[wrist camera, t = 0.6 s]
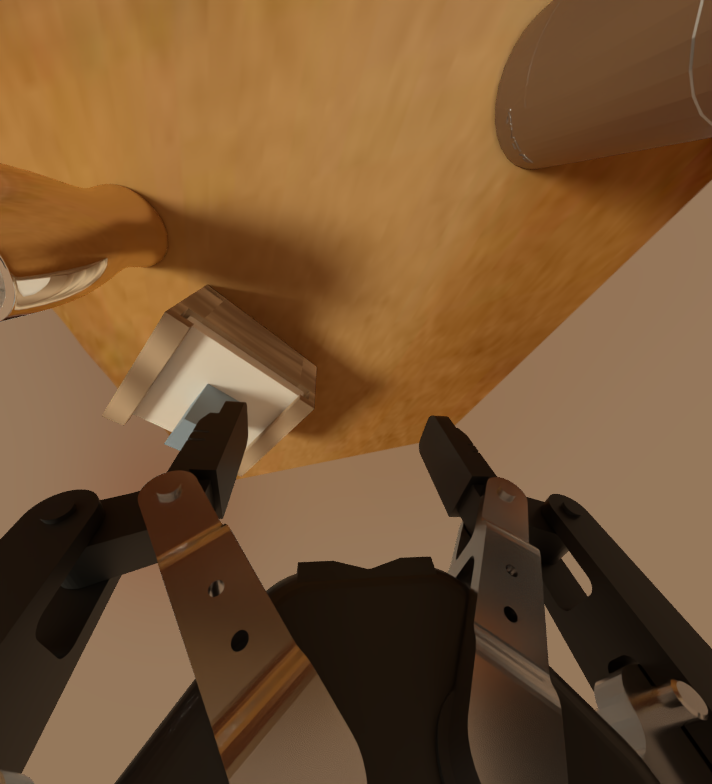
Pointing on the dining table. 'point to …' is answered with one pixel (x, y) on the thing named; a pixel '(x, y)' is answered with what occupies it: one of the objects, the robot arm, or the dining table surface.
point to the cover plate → (213, 387)
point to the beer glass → (68, 239)
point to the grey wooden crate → (240, 333)
